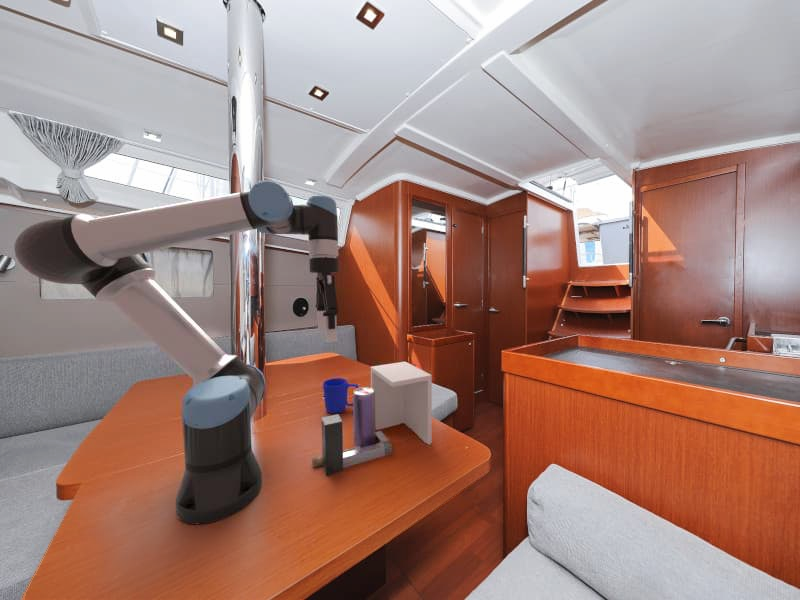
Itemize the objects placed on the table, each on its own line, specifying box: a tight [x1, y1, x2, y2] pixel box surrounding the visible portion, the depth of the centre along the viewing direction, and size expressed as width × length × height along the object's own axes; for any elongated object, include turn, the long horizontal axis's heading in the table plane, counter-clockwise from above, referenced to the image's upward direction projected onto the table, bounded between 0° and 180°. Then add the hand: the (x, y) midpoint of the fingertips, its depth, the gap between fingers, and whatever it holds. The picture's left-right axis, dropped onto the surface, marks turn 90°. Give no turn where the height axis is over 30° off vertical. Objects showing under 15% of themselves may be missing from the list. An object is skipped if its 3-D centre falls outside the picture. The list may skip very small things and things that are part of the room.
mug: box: [322, 377, 359, 414], centre depth 98 cm, size 8×12×10 cm
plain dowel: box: [311, 446, 361, 468], centre depth 71 cm, size 12×2×2 cm, turn 115°
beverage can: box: [352, 386, 377, 448], centre depth 77 cm, size 6×6×15 cm
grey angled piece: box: [321, 413, 393, 477], centre depth 72 cm, size 17×8×12 cm, turn 116°
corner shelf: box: [370, 361, 433, 446], centre depth 81 cm, size 12×15×19 cm
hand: (326, 337), depth 76 cm, fingers open, 13 cm apart
